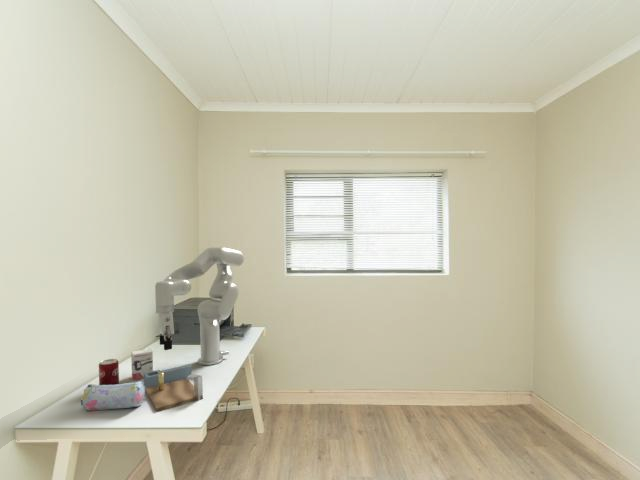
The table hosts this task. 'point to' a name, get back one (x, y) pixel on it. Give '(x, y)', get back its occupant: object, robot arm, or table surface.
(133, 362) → the ink box
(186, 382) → the board
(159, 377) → the peg
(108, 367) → the soda can
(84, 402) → the pencil case
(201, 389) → the plate
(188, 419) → the table surface
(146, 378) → the link
